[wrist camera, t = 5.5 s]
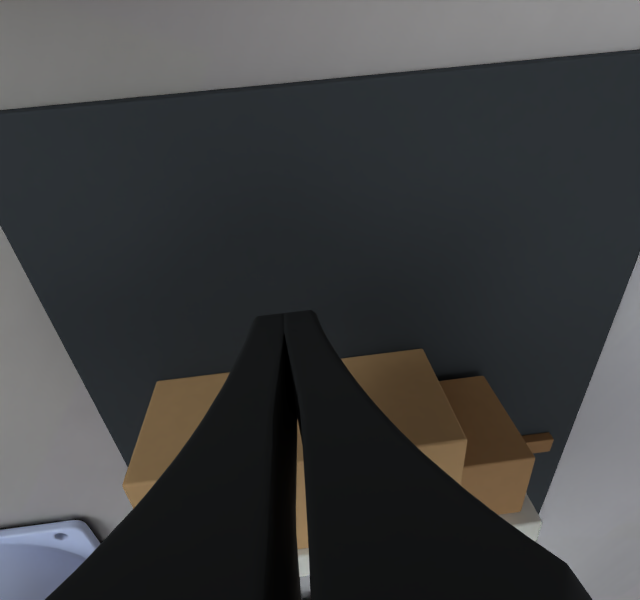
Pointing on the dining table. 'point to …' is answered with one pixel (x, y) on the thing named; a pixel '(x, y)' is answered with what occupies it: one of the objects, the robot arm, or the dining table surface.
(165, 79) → the dining table surface
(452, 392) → the cardboard stepped box
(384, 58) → the dining table surface
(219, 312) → the shoe mat
